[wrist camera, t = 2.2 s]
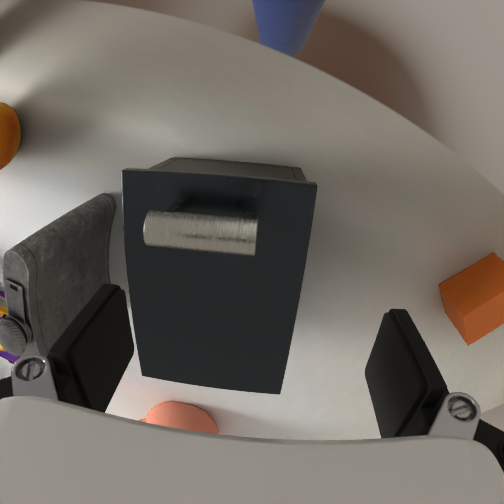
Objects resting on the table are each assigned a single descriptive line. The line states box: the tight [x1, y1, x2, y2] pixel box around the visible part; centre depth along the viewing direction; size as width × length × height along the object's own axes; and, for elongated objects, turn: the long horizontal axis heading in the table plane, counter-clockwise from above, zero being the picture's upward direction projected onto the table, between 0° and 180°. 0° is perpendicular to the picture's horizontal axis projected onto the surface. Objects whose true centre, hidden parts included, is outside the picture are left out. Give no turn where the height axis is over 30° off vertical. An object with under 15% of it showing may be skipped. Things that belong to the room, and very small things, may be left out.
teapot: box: [138, 401, 218, 434], centre depth 43 cm, size 12×18×10 cm
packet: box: [439, 253, 504, 345], centre depth 31 cm, size 5×9×7 cm, turn 120°
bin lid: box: [122, 168, 317, 394], centre depth 22 cm, size 19×13×5 cm
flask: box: [0, 193, 116, 358], centre depth 28 cm, size 4×14×18 cm, turn 167°
